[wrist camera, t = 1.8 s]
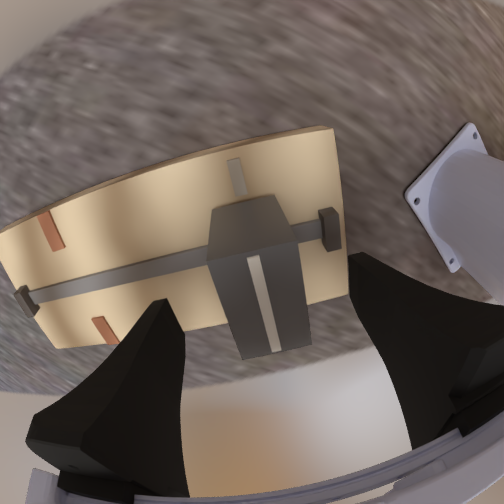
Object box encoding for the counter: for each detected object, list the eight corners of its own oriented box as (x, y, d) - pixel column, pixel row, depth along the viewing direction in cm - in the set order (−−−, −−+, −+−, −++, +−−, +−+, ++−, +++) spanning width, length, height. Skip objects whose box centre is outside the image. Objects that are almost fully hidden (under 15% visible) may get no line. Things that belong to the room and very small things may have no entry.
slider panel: (320, 125, 14) (340, 130, 12) (338, 276, 19) (353, 303, 17) (5, 226, 15) (-18, 246, 13) (64, 332, 20) (52, 357, 17)
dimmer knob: (274, 194, 14) (297, 241, 9) (290, 281, 16) (312, 345, 12) (211, 209, 14) (205, 263, 9) (237, 293, 16) (242, 361, 12)
